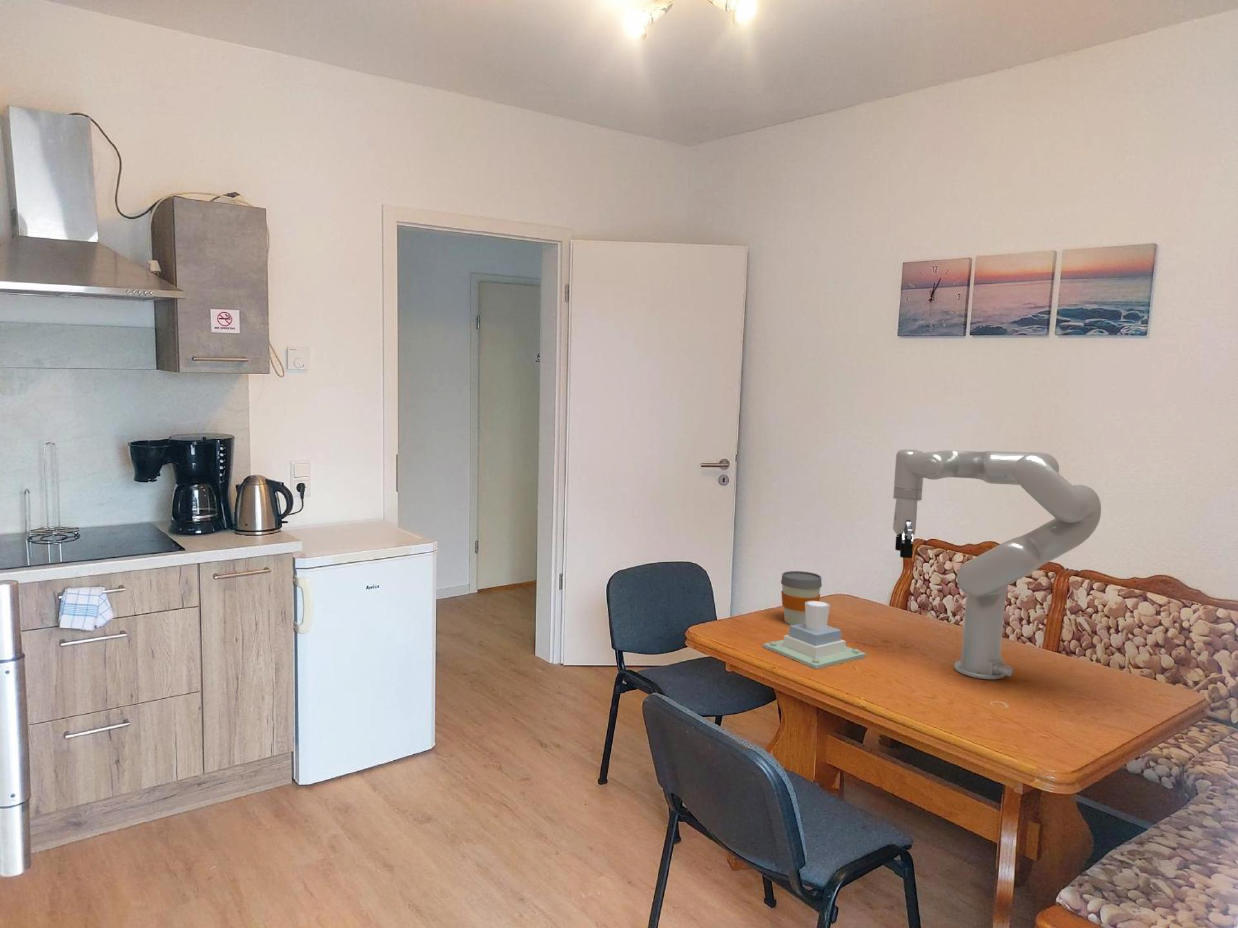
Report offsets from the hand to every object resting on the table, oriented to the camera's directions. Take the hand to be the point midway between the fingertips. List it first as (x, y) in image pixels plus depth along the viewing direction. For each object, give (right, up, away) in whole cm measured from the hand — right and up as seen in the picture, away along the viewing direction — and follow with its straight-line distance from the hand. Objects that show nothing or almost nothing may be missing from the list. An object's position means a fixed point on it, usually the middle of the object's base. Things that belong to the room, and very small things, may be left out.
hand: (903, 553), depth 234 cm
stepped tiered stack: (-25, -28, 0) cm, 37 cm away
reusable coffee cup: (-23, -25, +29) cm, 45 cm away
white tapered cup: (-25, -21, -1) cm, 32 cm away
